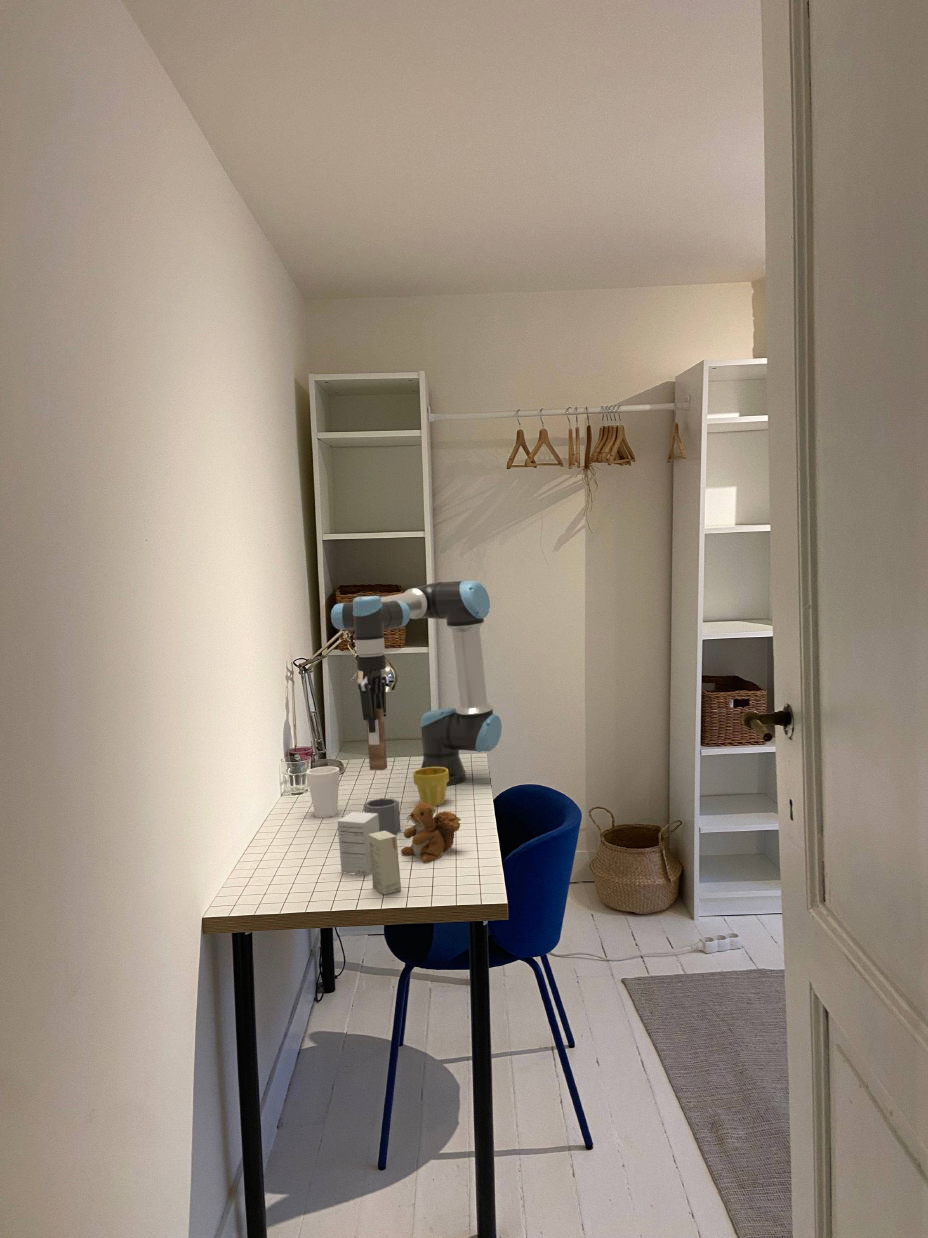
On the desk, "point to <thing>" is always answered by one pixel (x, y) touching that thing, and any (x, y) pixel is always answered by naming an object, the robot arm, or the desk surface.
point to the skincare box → (384, 862)
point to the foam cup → (324, 790)
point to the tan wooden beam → (378, 751)
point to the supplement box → (356, 841)
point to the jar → (385, 814)
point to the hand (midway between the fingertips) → (376, 742)
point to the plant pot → (431, 784)
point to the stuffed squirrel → (430, 832)
